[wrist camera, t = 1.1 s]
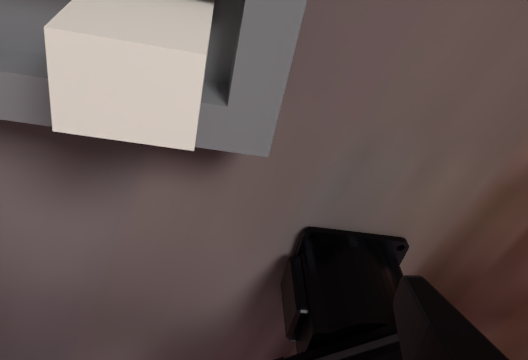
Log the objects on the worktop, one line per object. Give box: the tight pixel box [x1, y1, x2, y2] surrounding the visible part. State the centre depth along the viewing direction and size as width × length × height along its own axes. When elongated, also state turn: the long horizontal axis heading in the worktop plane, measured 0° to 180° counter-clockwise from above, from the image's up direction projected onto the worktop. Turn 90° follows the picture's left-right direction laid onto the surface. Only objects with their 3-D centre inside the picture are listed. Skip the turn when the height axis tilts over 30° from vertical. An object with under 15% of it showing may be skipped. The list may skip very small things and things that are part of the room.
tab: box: [44, 0, 215, 151], centre depth 15 cm, size 4×3×6 cm
